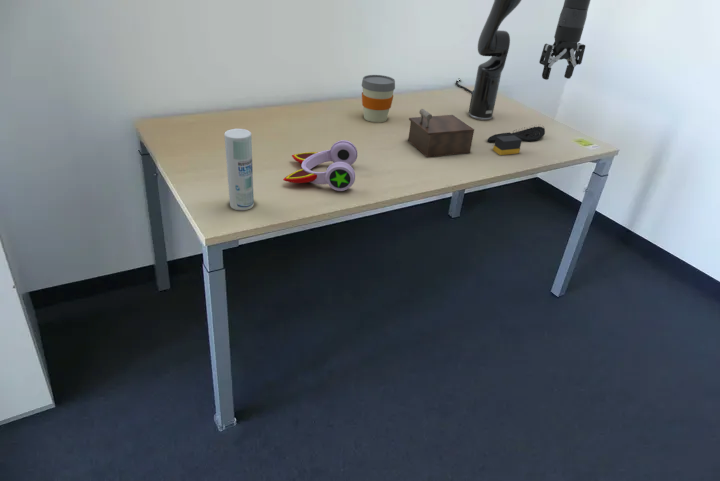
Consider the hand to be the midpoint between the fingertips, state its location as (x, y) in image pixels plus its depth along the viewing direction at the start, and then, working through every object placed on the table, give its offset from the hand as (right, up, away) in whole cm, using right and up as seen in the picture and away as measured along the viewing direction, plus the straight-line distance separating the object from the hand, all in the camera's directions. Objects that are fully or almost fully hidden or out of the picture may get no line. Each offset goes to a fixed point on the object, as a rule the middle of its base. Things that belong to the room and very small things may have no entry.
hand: (556, 78), depth 166 cm
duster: (-11, -20, +19) cm, 29 cm away
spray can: (-93, -42, -26) cm, 105 cm away
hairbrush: (-4, -13, +31) cm, 34 cm away
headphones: (-73, -32, -8) cm, 80 cm away
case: (-34, -18, +18) cm, 43 cm away
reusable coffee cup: (-56, -4, +39) cm, 68 cm away
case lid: (-34, -12, +14) cm, 39 cm away
